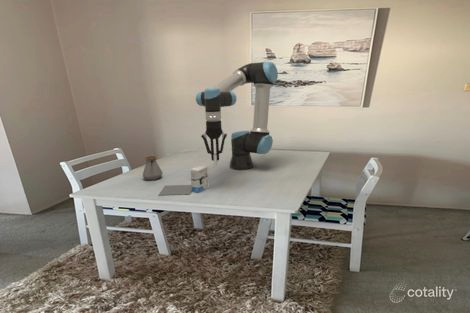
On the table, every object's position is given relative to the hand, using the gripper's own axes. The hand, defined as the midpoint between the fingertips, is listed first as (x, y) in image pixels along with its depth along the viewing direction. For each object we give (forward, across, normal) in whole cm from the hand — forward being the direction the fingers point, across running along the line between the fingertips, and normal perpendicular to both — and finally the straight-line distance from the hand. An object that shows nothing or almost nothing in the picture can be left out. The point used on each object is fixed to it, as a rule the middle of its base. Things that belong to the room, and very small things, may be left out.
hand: (215, 166), depth 153 cm
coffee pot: (+12, -38, +17) cm, 43 cm away
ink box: (+12, -9, 0) cm, 15 cm away
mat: (+12, -21, 0) cm, 24 cm away
